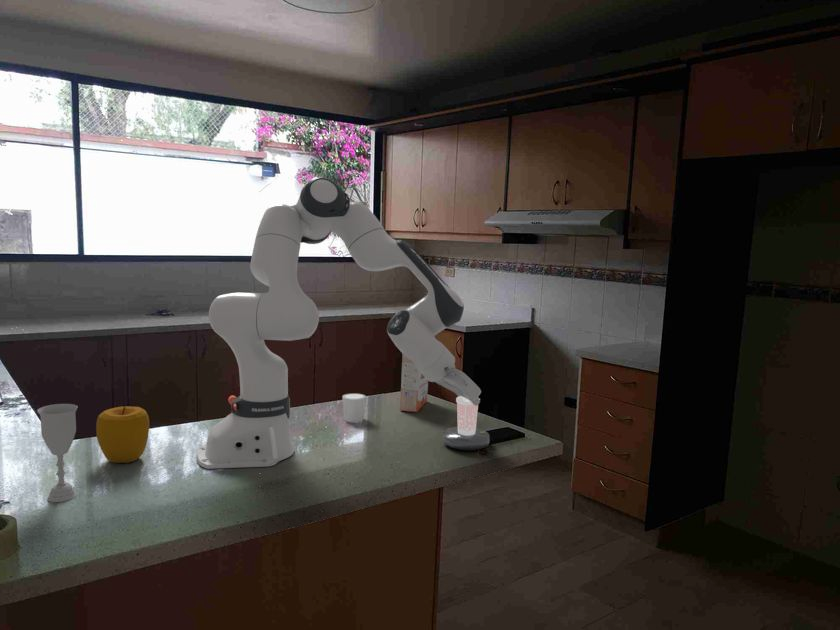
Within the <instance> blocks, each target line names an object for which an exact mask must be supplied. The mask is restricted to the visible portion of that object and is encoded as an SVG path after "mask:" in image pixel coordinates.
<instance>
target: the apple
mask: <svg viewBox="0 0 840 630" xmlns="http://www.w3.org/2000/svg"><path fill="white" fill-rule="evenodd" d="M95 424H96V426H95V430H96V439H97V442H98V443H97V444H98V445H99V448H100V450H101V452H102V454H103V455H104V457H105V458H106V459H107V461H109V462H112V463H118V464H122V463H123V464H124V463H131V462H135V461H136V460H138V459H139V458H141V457H142V456H143V454H144V453H145V451H146V450H145V449H146V447H147V443H148V438H149V432H150V426H151V425H150V424H151V423H150V418H149V415H148V413H147V411H146V409H144V408H142V407H140V406H118V407H113V408H109V409H106V410H103V411H102V412H101V413H100V414H99V415H98V416H97V418H96V423H95Z"/></svg>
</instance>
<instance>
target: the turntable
mask: <svg viewBox="0 0 840 630" xmlns="http://www.w3.org/2000/svg"><path fill="white" fill-rule="evenodd" d="M442 442H443V444H445V445H446V446H449V447H450V448H451V449H453V450H456V451H462V452H475V451H480V450H482V449H484V448H487V447H488V446H489V444H490V434H489V431H488V432H487V431H486V430H484V429H481V428H477V427H476V432H475V434H474V435H469V436H467V435H461V434H459V433H458V426H453V427H449V428H447V429H445V430H443V432H442ZM481 448H482V449H481Z"/></svg>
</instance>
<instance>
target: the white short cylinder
mask: <svg viewBox="0 0 840 630" xmlns="http://www.w3.org/2000/svg"><path fill="white" fill-rule="evenodd" d="M341 396H342V398H341V399H342V406H343V407H342V408H343V410H342V411H343V420H344V421H345V422H348V423H361V422H363V421H364V419H365V409H366V402H367V400H366V399H367V395H365V394H362V393H352V392H351V393H346V394H343V395H341ZM360 421H361V422H360Z"/></svg>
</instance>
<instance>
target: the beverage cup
mask: <svg viewBox="0 0 840 630" xmlns="http://www.w3.org/2000/svg"><path fill="white" fill-rule="evenodd" d="M477 398H478V399H479V400H480V401H481V398H479V397H477ZM455 403H456V407H457V408H456V411H457V413H456V414H457V415H456V416H457V419H456V420H457V427H458V433H459V434H461V435H467V436H469V435H474V434H475V432H476V428H477V422H478V421H477V420H478V419H477V418H478V410H479V404H478V405H477V406H475V405H473V404H472V403H471V402H470V401H469V400H468V399H466V398H464V397H462V396H459V397H458V396H457V397H456V398H455Z"/></svg>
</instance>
